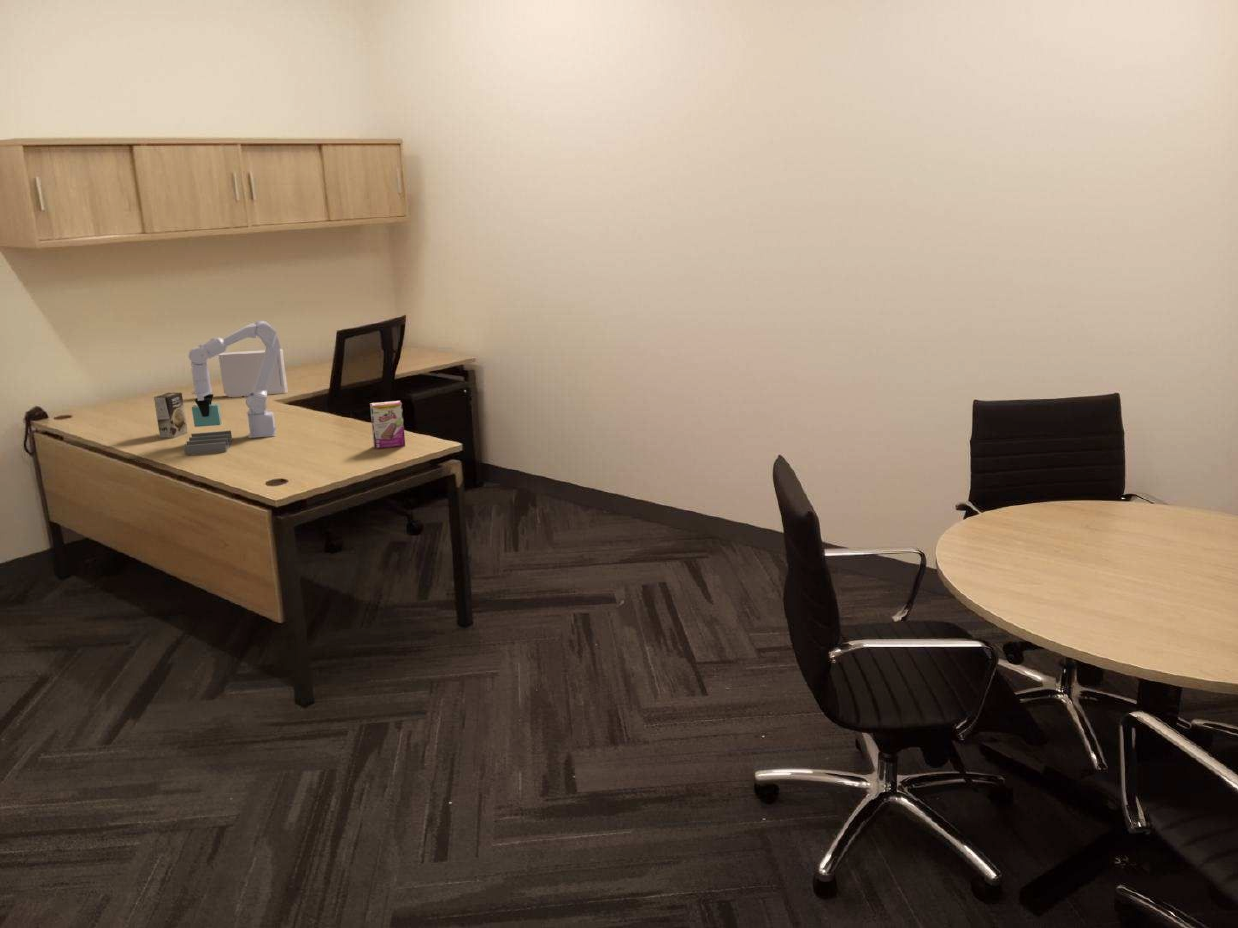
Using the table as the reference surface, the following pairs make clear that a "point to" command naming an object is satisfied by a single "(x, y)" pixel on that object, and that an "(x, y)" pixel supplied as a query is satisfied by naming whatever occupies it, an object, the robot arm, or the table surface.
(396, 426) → the candy bar box
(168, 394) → the coffee box
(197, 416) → the tall teal block
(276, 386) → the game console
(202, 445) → the rack
